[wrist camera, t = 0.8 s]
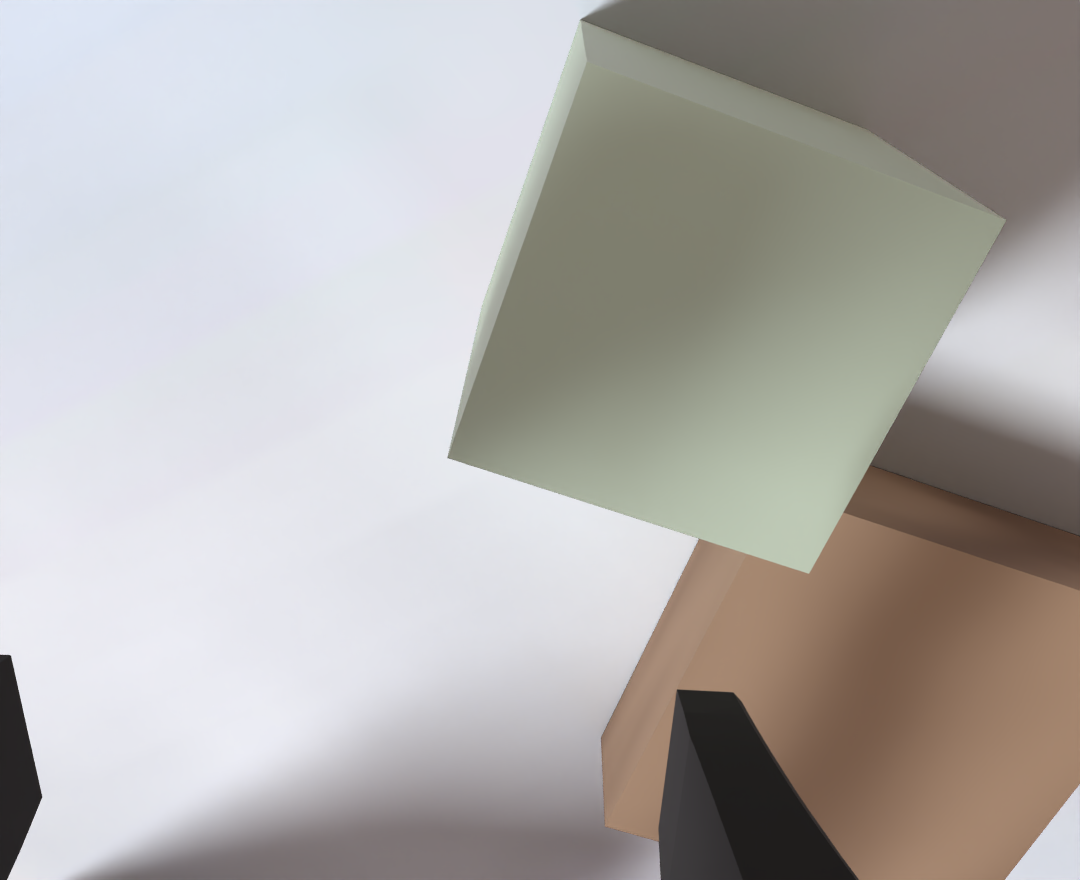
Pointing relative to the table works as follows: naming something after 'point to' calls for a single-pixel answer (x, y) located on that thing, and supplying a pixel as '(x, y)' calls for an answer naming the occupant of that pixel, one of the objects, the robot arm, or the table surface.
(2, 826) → the robot arm
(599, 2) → the table surface
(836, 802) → the walnut base
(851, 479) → the sage block
